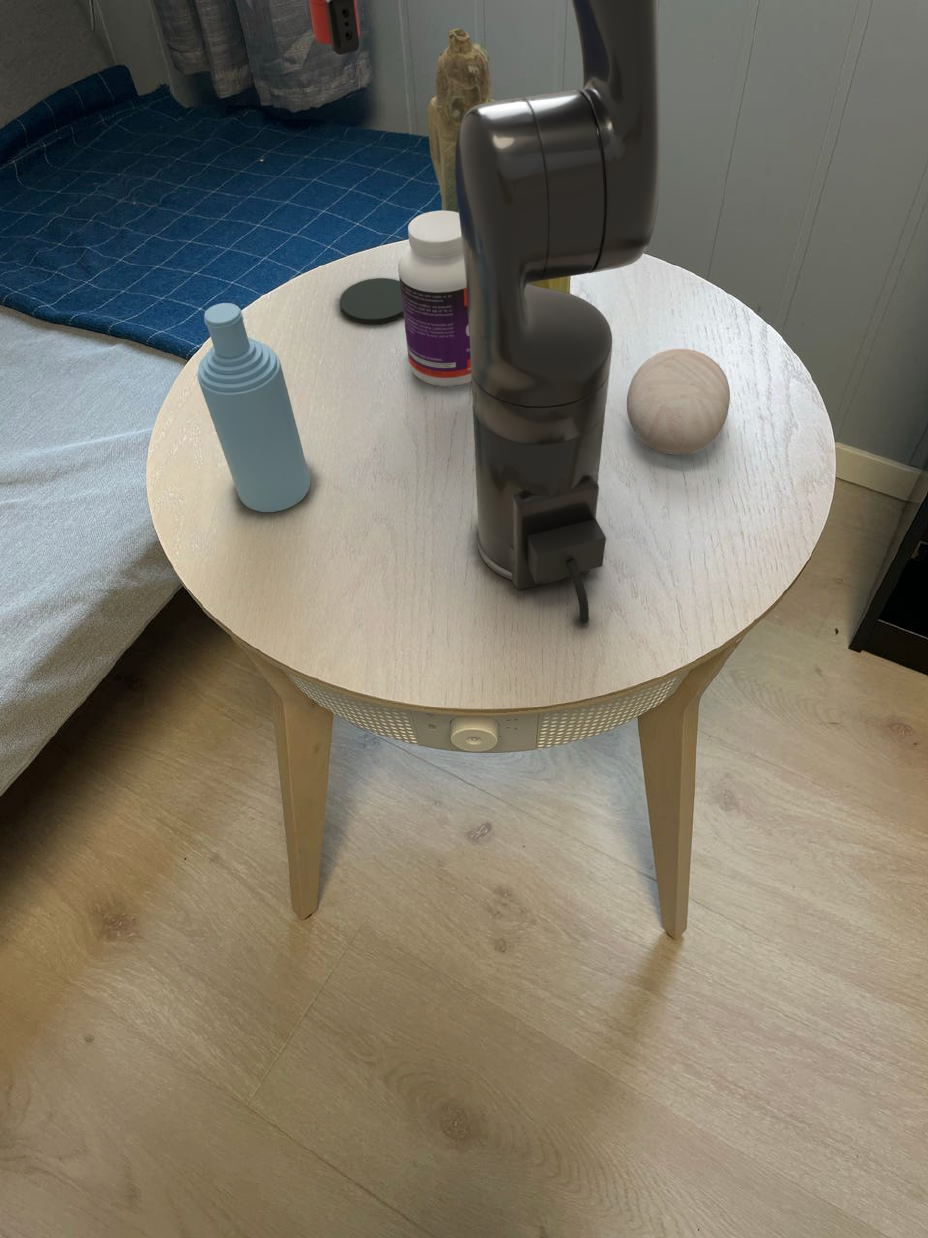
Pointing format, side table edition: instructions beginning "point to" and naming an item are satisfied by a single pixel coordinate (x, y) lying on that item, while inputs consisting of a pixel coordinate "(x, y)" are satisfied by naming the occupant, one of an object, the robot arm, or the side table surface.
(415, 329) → the pill bottle
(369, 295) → the coaster
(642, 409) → the decorative stone
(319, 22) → the cap
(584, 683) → the side table surface
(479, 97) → the statue
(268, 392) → the bottle
